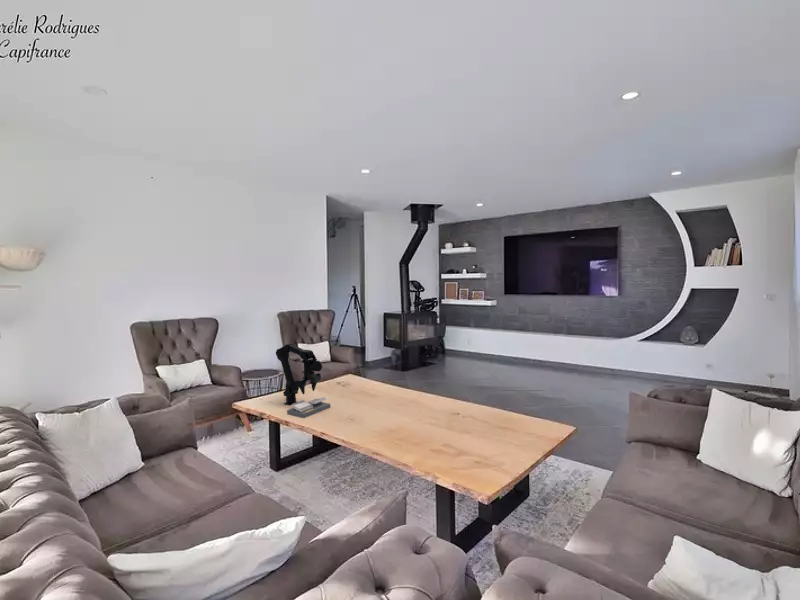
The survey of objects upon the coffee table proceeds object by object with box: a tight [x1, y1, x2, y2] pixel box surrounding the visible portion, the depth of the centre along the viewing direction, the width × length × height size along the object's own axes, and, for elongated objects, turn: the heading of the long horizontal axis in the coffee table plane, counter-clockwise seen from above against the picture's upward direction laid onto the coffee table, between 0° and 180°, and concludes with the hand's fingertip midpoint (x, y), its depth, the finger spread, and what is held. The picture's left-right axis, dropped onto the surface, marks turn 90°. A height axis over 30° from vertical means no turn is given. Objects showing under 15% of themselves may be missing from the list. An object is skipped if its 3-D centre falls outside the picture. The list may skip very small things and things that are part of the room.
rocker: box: [306, 396, 327, 404], centre depth 269 cm, size 9×10×2 cm
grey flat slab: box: [290, 399, 313, 412], centre depth 259 cm, size 9×10×2 cm
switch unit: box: [286, 401, 331, 419], centre depth 264 cm, size 15×24×4 cm, turn 148°
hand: (308, 392), depth 271 cm, fingers open, 9 cm apart
